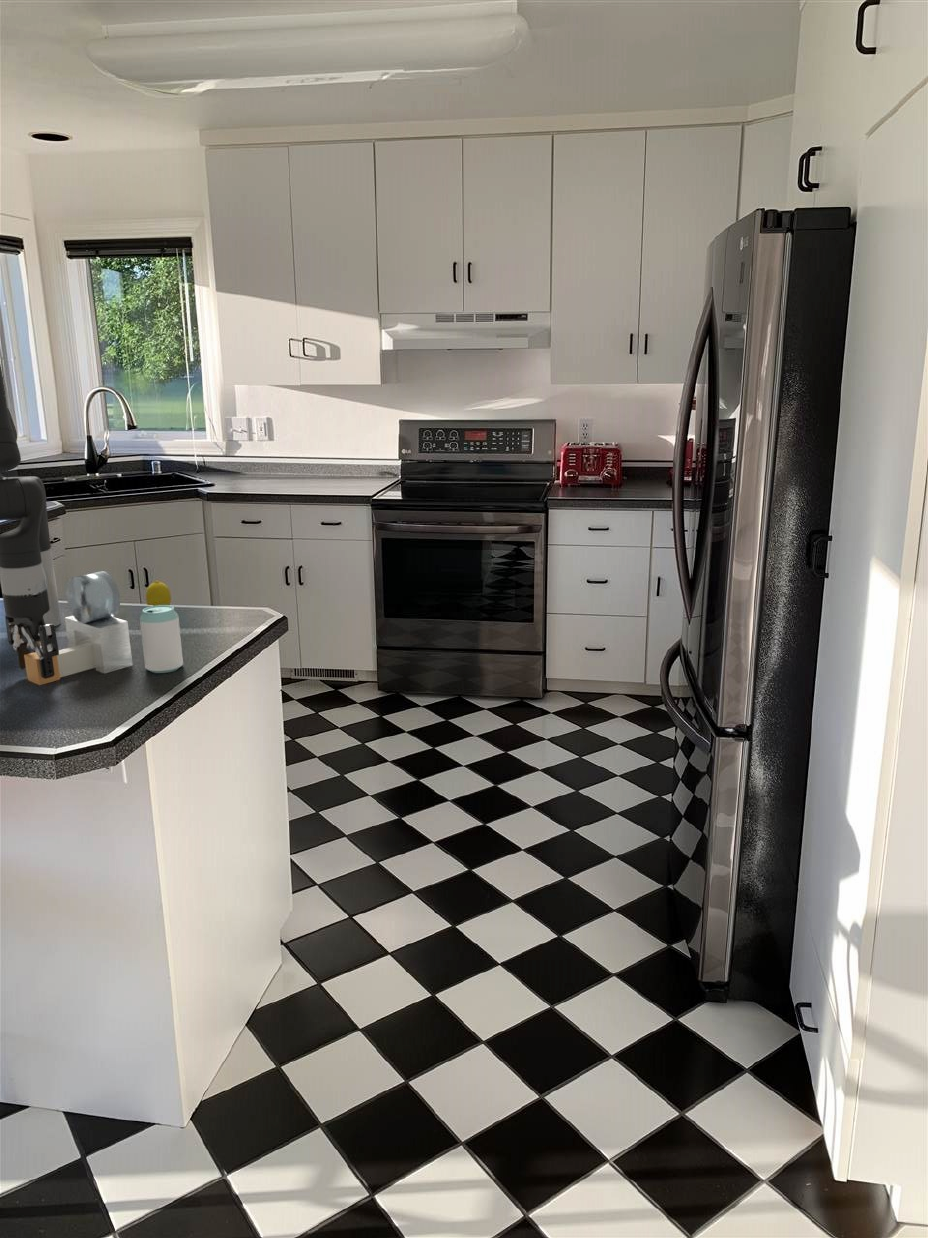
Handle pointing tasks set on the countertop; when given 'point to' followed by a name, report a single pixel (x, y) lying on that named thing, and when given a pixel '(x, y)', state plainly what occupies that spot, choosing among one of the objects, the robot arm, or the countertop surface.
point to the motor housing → (98, 620)
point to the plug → (62, 663)
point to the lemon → (158, 594)
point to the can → (161, 639)
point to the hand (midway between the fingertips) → (36, 672)
